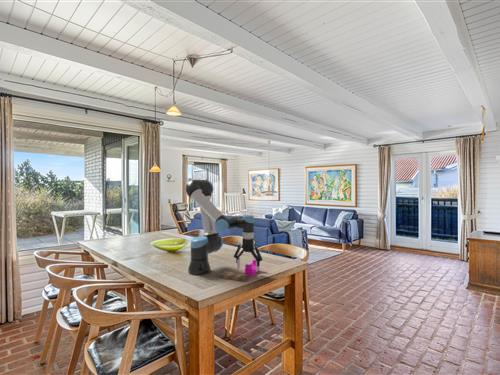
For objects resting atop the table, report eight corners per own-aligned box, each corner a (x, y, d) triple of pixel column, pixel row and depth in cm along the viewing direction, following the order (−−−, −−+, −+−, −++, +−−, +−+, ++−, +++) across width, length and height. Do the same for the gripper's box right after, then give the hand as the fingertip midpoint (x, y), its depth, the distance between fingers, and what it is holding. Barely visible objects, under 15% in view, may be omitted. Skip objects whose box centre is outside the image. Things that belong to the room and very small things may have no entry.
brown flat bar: (220, 277, 176) (220, 274, 176) (225, 274, 183) (225, 270, 183) (244, 281, 169) (244, 277, 169) (248, 278, 176) (248, 274, 176)
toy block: (251, 269, 194) (251, 259, 194) (259, 270, 192) (259, 260, 192) (241, 276, 181) (241, 264, 181) (250, 277, 178) (250, 265, 178)
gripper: (229, 237, 186) (228, 268, 187) (263, 241, 176) (262, 273, 177) (234, 235, 193) (233, 265, 194) (267, 238, 183) (267, 270, 183)
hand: (247, 269), depth 185 cm, fingers open, 13 cm apart
